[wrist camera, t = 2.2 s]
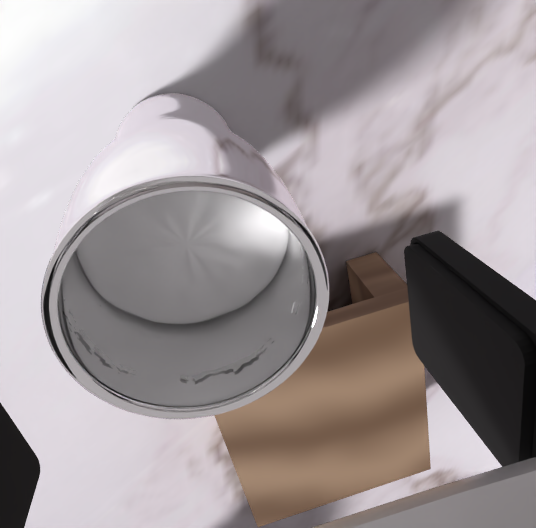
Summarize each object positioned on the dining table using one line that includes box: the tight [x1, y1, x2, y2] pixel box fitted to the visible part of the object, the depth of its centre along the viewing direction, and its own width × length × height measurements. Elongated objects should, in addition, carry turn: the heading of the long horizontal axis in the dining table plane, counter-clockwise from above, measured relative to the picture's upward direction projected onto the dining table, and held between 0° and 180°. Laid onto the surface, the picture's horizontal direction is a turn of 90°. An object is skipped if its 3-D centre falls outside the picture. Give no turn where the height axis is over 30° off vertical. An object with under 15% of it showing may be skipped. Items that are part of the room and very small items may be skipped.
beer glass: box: [41, 93, 329, 419], centre depth 17 cm, size 7×7×15 cm
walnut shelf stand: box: [215, 252, 431, 527], centre depth 29 cm, size 14×12×6 cm
